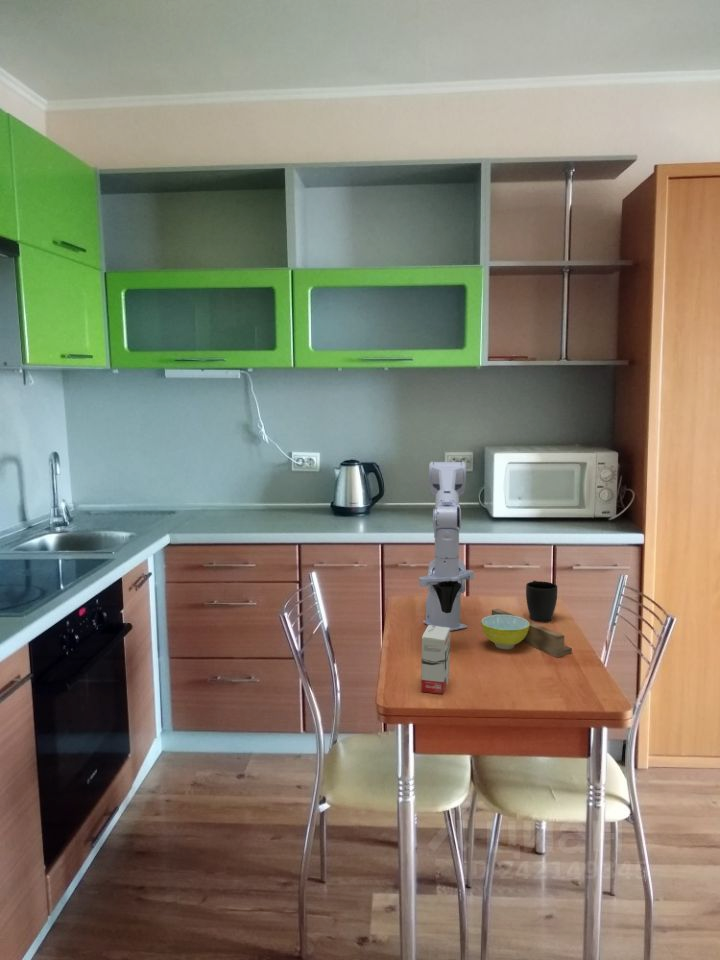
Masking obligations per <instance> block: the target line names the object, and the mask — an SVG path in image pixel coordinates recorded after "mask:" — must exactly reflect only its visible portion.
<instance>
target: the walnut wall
mask: <svg viewBox="0 0 720 960" xmlns="http://www.w3.org/2000/svg"><path fill="white" fill-rule="evenodd" d="M491 615H512V616H516V614H512V613H509V612H507V611H504V610H502V609H500V608H494V609H491ZM527 621H528V622H529V624H530V626H529V630H528V633H527V635H526V636H525V638H524V639H523V640H522V641H521V643H523V644H526V645H528V646H530V647H533V648H535V649H538V650H539V651H541V652H543V653H546V654H548V655H551V656H552V657H554V658H557V659H558V658H561V656H562V657H564V656H566V655H571V654H572V652H573V650H572V649H573V648H572V647H569V646H568V645H565V635H564V634H561V633H559V632H557V631H554V630H551V629H549V628H547V627H544V626H543V625H542V626H541V625H539V624H537V623H534V622H532V621H529V620H527ZM565 654H566V655H565Z"/></svg>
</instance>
